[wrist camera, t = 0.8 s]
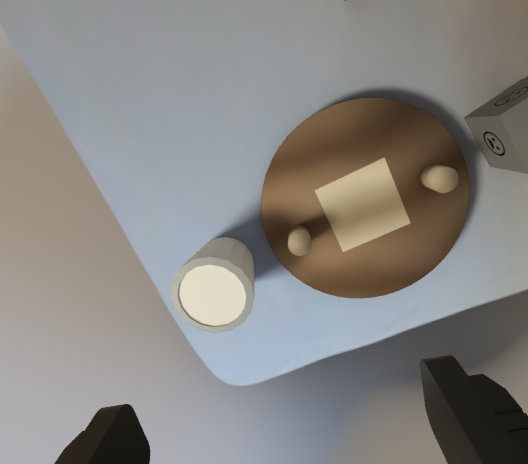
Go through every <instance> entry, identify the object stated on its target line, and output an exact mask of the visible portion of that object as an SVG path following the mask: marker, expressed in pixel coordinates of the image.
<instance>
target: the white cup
mask: <svg viewBox="0 0 528 464" xmlns="http://www.w3.org/2000/svg"><path fill="white" fill-rule="evenodd" d="M171 299H172V302H173V305H174V308H175V310H176V311H177V313H178V314H179V315H180V316H181V318H182V319H183V320H184V321H185V322H186V323H188V324H190V325H191V326H193V327H195V328H196V329H198V330H202V331H207V332H212V333H217V332H224V331H230V330H232V329H233V328H235V327H237V326H239V325H240V324H242V323H243V322H244V321H245V319H246V318H247V317H248V315H249V314H250V313H251V311H252V306H253V301H254V261H253V257H252V253H251V252H250V251H249V249H248V248H247V246H246V245H245V244H243V243H241V242H240V241H238V240H237V239H233V238H228V237H222V238H216V239H213V240H212V241H210V242H209V243H207V244H206V245H204V246H203V247H202V248H201V249H200V250H199V251H198V252H197V253H196V254H195V255H194V256H193V257H192V258H190V259H189V260H188V261H187V262H186V263H185V264H184V265H183V266H182V267H181V268H180V269H179V271H178V272H177V274H176V275H175V277H174V279H173V280H172V287H171Z"/></svg>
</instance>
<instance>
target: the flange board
mask: <svg viewBox="0 0 528 464" xmlns="http://www.w3.org/2000/svg"><path fill="white" fill-rule="evenodd" d="M469 194H470V185H469V176H468V171H467V167H466V163H465V160H464V157H463V155H462V153H461V150H460V148H459V146H458V145H457V143H456V142H455V140H454V138H453V137H452V135H451V134H450V133H449V132H448V131H447V130H446V128H445V127H444V126H443V125H442V124H441V123H439V122H438V121H437V120H436V119H435V118H434V117H432V116H431V115H429V114H428V113H426V112H424V111H423V110H421V109H419V108H417V107H415V106H412V105H410V104H408V103H404V102H401V101H397V100H393V99H385V98H361V99H354V100H348V101H345V102H341V103H338V104H335V105H332V106H330V107H328V108H326V109H323V110H321V111H319V112H317V113H316V114H314V115H312V116H311V117H309V118H308V119H306V120H305V121H304V122H302V123H301V124H300V125H299V126H297V127H296V128H295V129H294V130H293V131H292V132H291V133H290V134H289V135H288V136H287V138H286V139H285V140H284V142H283V143H282V144H281V146H280V147H279V148H278V150H277V152H276V154H275V155H274V157H273V159H272V161H271V164H270V166H269V169H268V171H267V173H266V177H265V181H264V185H263V190H262V198H261V213H262V220H263V226H264V229H265V233H266V236H267V239H268V241H269V243H270V246H271V248H272V250H273V251H274V253H275V255H276V256H277V258H278V259H279V261H280V262H281V263H282V264H283V265H284V267H285V268H286V269H287V270H288V271H289V272H290V273H291V274H292V275H294V276H295V277H296V278H297V279H299V280H300V281H302V282H303V283H305V284H306V285H308V286H310V287H312V288H314V289H316V290H318V291H321V292H323V293H326V294H330V295H334V296H338V297H345V298H371V297H377V296H382V295H387V294H390V293H393V292H396V291H399V290H401V289H403V288H405V287H408V286H410V285H412V284H413V283H415V282H417V281H418V280H420V279H422V278H423V277H424V276H425V275H427V274H428V273H429V272H431V271H432V270H433V269H434V268H435V267H436V266H437V265H438V264H439V263H440V262H441V261H442V260H443V259H444V258H445V256H446V255H447V254H448V253H449V251H450V250H451V248H452V247H453V245H454V244H455V242H456V240H457V239H458V236H459V234H460V232H461V230H462V228H463V225H464V222H465V219H466V216H467V211H468V205H469Z"/></svg>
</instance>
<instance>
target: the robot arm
mask: <svg viewBox="0 0 528 464" xmlns="http://www.w3.org/2000/svg"><path fill="white" fill-rule="evenodd" d="M420 369H421V377H422V385H423V392H424V400H425V407H426V411H427V415H428V419H429V422H430V425H431V428H432V430H433V433H434V435H435V437H436V439H437V442H438V444H439V446H440V448H441V450H442V452H443V454H444V456H445V458H446V461H447V463H448V464H528V416H527V414H526V413H523V411H522V408H521V407H520V406H519V405H518V403H516V401H515V400H514V399H513V397H512V396H511V395H510V394H509V392H508V391H507V390H506V389H505V388H503V387H502V386H500V385H499V384H497V383H496V382H494V381H493V380H491V379H490V378H488V377H487V376H485V375H484V374H479V375H472V376H468V375H467V374H466V373H465V371H464V370H463V368H462V367H461V366H460V364H459V363H458V362H457V360H456V359H455V358H454V357H453V356H452V355H448V356H441V357H435V358H428V359H422V360H420ZM149 462H150V446H149V443H148V440H147V438H146V436H145V434H144V432H143V429H142V427H141V425H140V423H139V421H138V418H137V416H136V414H135V411H134V409H133V408H132V406H131V405H129V404H124V405H117V406H111V407H105V408H101V409H100V410H99V411H98V412H97V413H96V414H95V416H94V417H93V419H92V420H91V422H90V423H89V425H88V427H87V428H86V430H85V431H82V432H81V433H80V434H79V435H78V436H77V437H76V438H75V439H74V440H73V441H72V442H71V443H70V444H69V445H68V446H67V447H66V448H65V449H64V450H63V452H62V453H61V455H60V456H59V458H58V459H57V461H56V462H55V464H149Z"/></svg>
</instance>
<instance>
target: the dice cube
mask: <svg viewBox="0 0 528 464" xmlns="http://www.w3.org/2000/svg"><path fill="white" fill-rule="evenodd" d="M464 119H465V121H466V123H467V125H468V127H469V128H470V130H471V132H472V134H473V136H474V138H475V139H476V141H477V143H478V145H479V147H480V149H481V150H482V152H483V154H484V156H485V158H486V160H487V162H488V163H489V165H490V167H495V168H501V169H506V170H511V171H516V172H521V173H527V174H528V79H523V80H520V81H519V82H517V83H516V84H514V85H513V86H511V87H510V88H508V89H507V90H505V91H504V92H502V93H501V94H499V95H498V96H496V97H495V98H493V99H492V100H490V101H489V102H487V103H486V104H484V105H483V106H481V107H480V108H478V109H476V110H475V111H473V112H472V113H470V114H469V115H467V116H466V117H464Z"/></svg>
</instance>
